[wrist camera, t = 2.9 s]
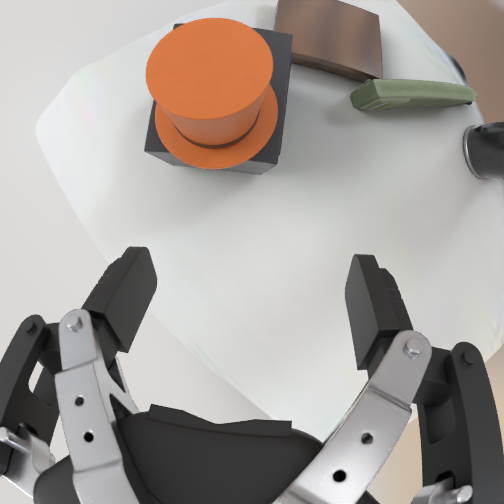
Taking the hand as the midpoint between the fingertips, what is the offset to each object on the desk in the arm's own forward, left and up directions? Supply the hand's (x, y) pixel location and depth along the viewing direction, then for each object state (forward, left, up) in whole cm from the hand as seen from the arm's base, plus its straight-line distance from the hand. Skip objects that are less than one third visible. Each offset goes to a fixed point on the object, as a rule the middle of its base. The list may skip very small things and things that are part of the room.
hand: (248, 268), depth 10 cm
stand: (-8, -26, -22) cm, 35 cm away
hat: (+3, -9, -10) cm, 14 cm away
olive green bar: (-24, -22, -22) cm, 40 cm away
